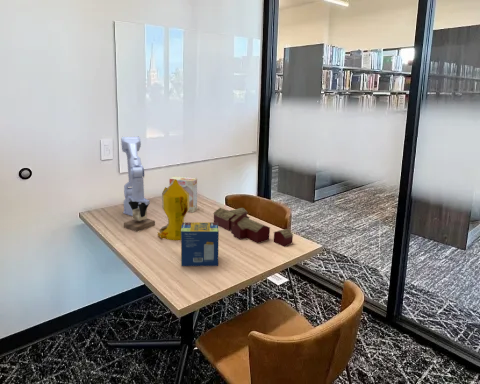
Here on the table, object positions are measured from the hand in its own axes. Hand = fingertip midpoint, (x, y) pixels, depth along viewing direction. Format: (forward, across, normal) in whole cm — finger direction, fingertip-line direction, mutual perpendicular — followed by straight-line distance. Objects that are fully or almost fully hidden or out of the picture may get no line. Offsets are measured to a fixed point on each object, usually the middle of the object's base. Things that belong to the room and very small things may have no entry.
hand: (139, 215), depth 191 cm
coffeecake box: (+6, -1, +35) cm, 36 cm away
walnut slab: (+6, 0, 0) cm, 6 cm away
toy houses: (+7, +52, +28) cm, 59 cm away
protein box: (+6, +51, -12) cm, 53 cm away
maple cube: (+2, 0, 0) cm, 2 cm away
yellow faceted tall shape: (+6, +22, +3) cm, 23 cm away
